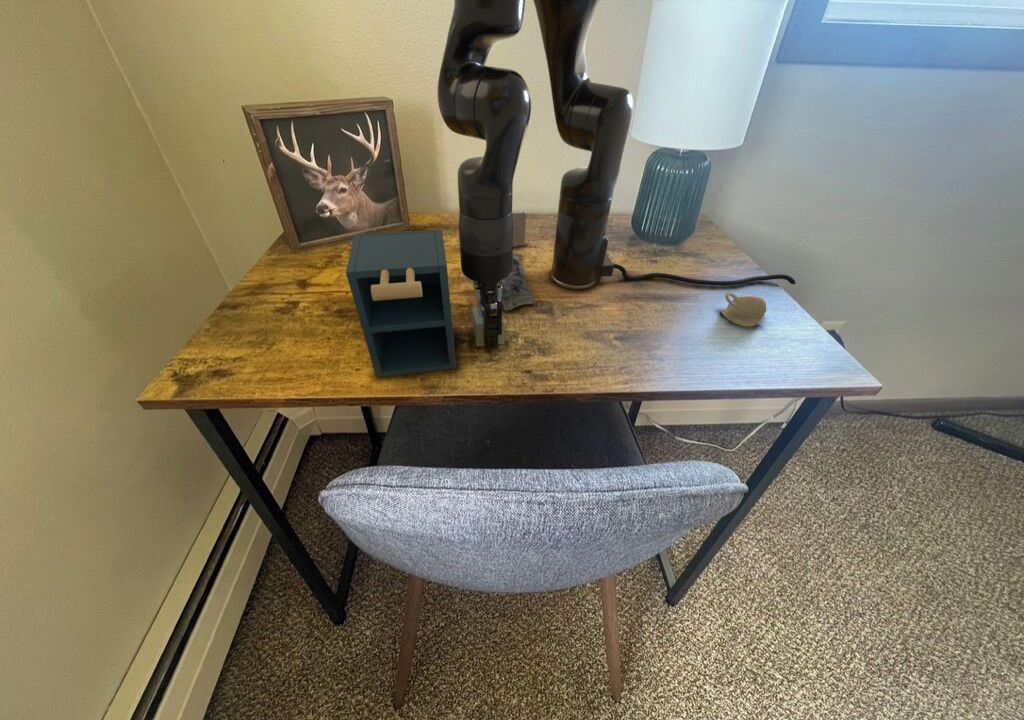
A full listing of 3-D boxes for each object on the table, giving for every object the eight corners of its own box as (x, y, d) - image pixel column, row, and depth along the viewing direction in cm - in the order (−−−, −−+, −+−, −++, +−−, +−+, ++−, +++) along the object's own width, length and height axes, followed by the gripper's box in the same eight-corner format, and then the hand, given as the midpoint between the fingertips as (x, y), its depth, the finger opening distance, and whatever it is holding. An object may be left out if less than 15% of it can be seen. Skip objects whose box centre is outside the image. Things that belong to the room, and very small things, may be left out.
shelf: (352, 231, 55) (339, 292, 44) (441, 226, 57) (449, 284, 46) (379, 335, 68) (374, 403, 57) (451, 329, 69) (459, 393, 59)
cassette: (472, 247, 91) (470, 214, 86) (472, 244, 93) (470, 211, 87) (524, 247, 92) (526, 214, 87) (524, 243, 94) (525, 210, 88)
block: (499, 327, 70) (499, 305, 67) (504, 344, 67) (504, 322, 64) (473, 329, 70) (472, 307, 67) (476, 346, 66) (475, 324, 63)
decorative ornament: (764, 329, 72) (779, 304, 68) (715, 322, 73) (727, 297, 69) (759, 316, 75) (772, 291, 71) (712, 309, 76) (723, 285, 72)
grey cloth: (536, 309, 74) (537, 300, 73) (500, 312, 74) (500, 302, 72) (518, 256, 90) (518, 247, 88) (487, 257, 89) (487, 248, 87)
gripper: (523, 264, 52) (518, 359, 63) (504, 218, 62) (502, 306, 74) (464, 268, 51) (470, 364, 62) (455, 220, 61) (461, 310, 72)
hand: (487, 332), depth 68 cm, fingers open, 6 cm apart
